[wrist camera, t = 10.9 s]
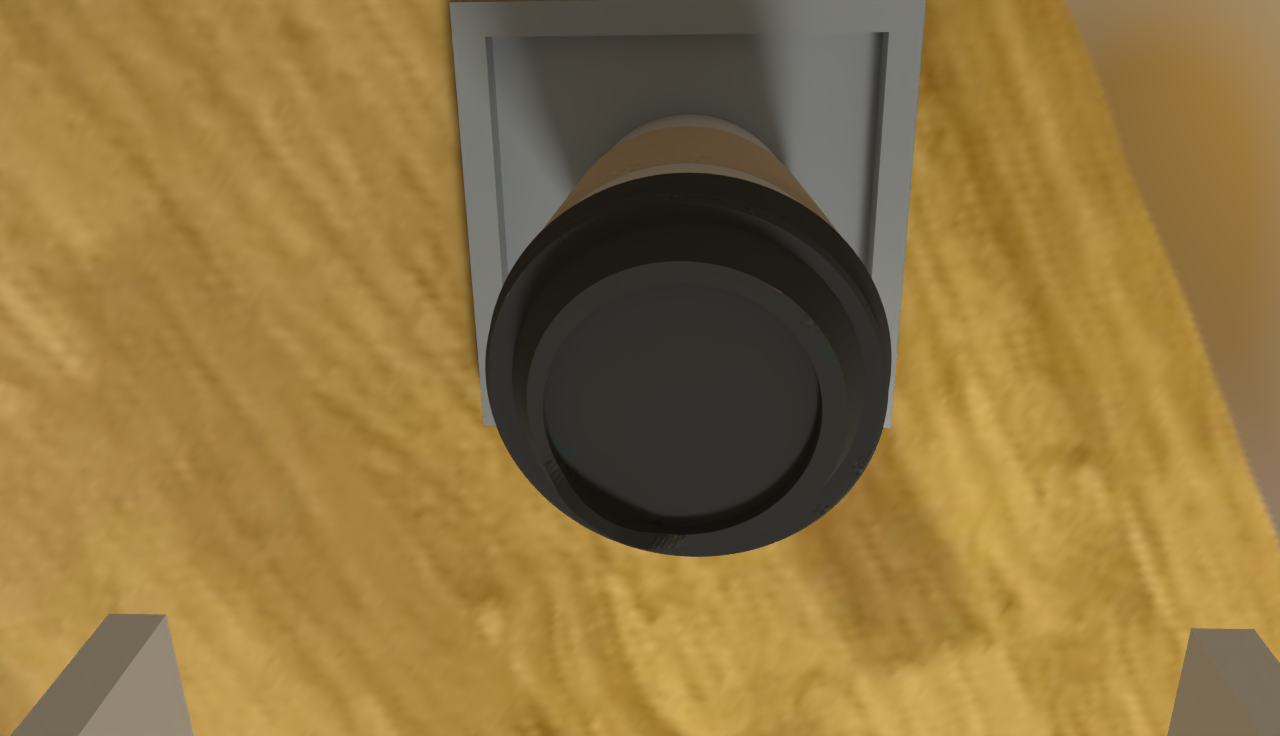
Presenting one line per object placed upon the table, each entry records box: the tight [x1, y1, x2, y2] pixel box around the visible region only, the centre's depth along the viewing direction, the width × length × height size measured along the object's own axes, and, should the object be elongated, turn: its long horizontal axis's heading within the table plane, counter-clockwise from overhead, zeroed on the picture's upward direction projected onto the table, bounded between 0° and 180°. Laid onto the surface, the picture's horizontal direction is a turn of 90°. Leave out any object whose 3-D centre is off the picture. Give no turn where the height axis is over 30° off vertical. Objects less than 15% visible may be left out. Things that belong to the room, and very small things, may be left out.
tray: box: [449, 0, 926, 428], centre depth 36 cm, size 14×14×2 cm
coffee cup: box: [485, 114, 892, 557], centre depth 29 cm, size 9×9×15 cm
